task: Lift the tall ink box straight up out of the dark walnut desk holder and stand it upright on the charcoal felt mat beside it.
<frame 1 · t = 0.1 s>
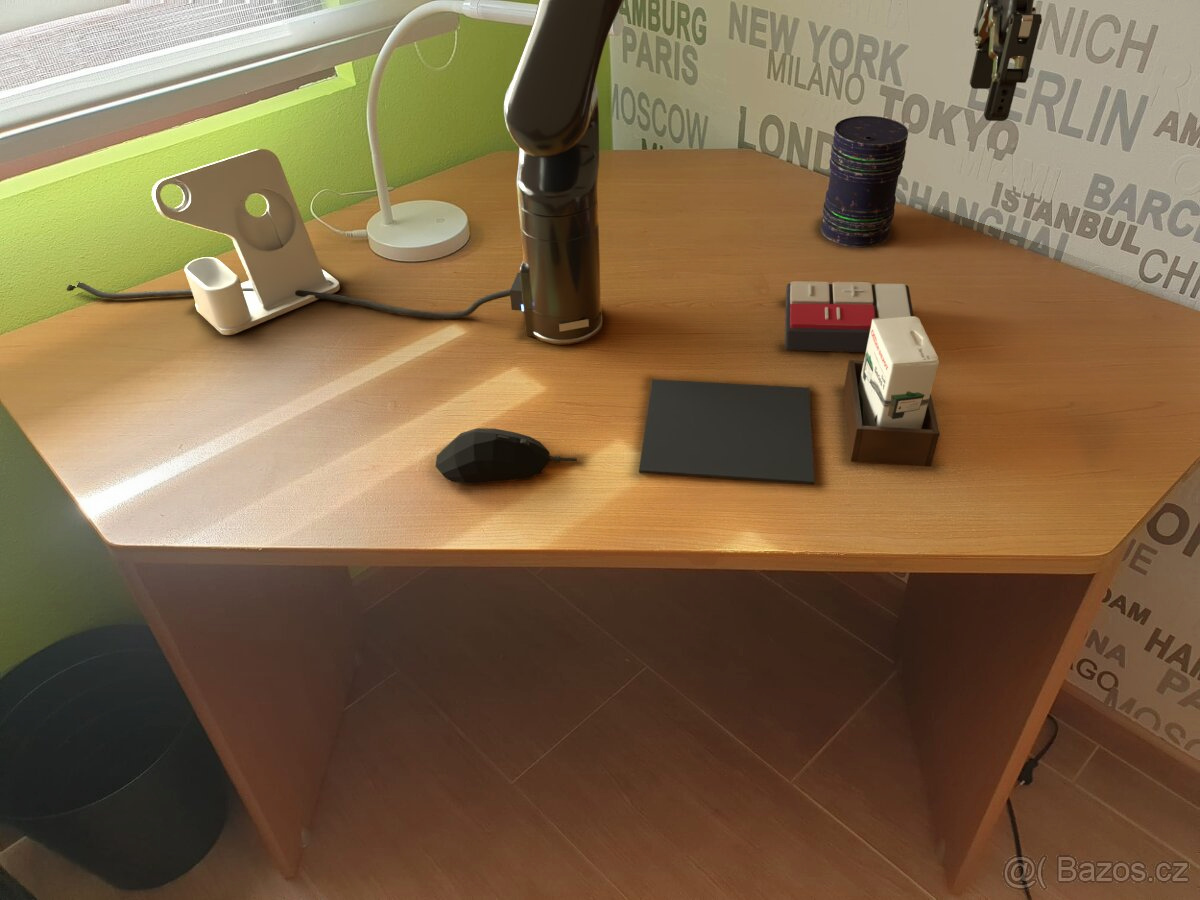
hand: (987, 103, 97), 29 cm above the table, tool pointing down, fingers open, 8 cm apart
gaming mouse: (507, 465, 101), on the table
mat: (727, 429, 105), on the table
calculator: (845, 330, 119), on the table
ink box: (884, 428, 104), resting in holder
phone holder: (267, 299, 128), on the table
navy blue cylinder: (854, 232, 138), on the table
holder: (885, 427, 104), on the table
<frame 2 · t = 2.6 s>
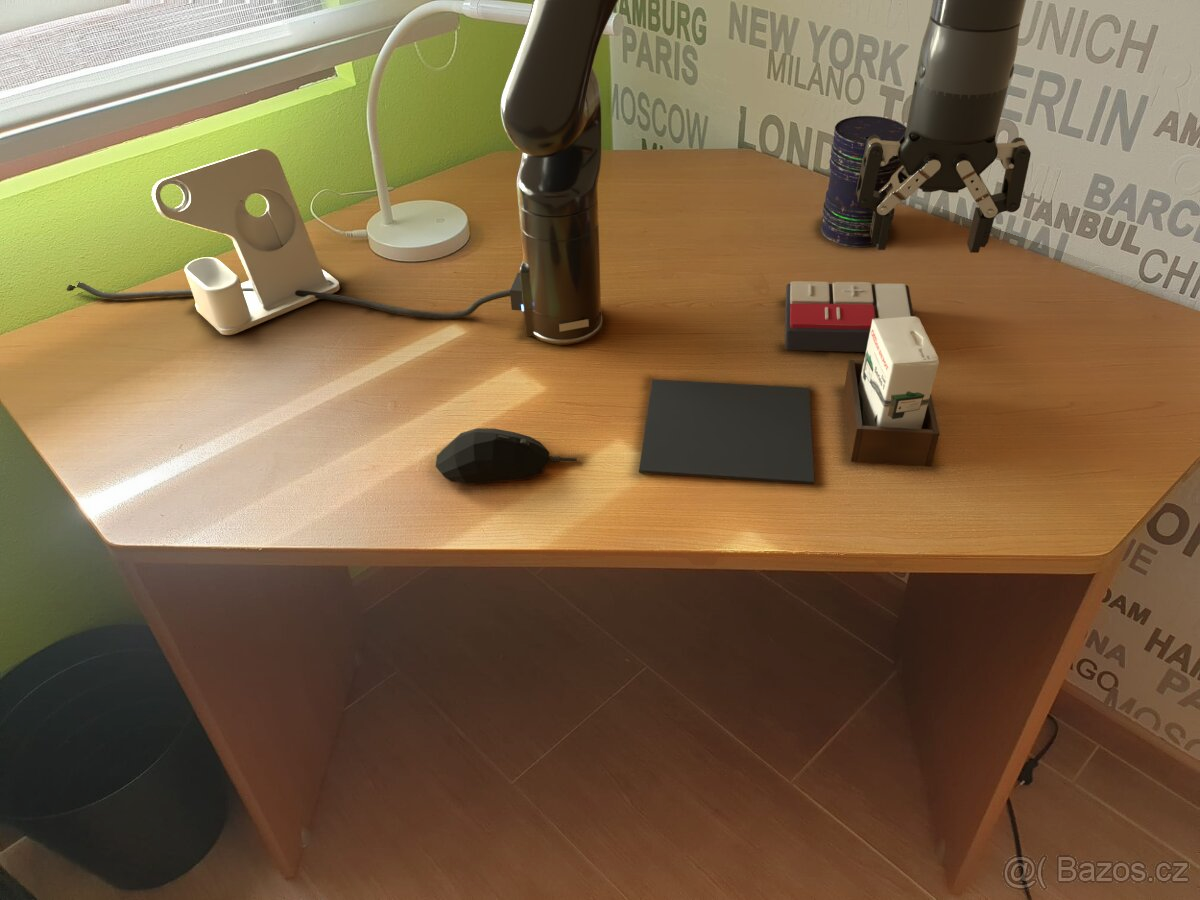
hand: (925, 247, 91), 21 cm above the table, tool pointing down, fingers open, 8 cm apart
nothing on the table moved.
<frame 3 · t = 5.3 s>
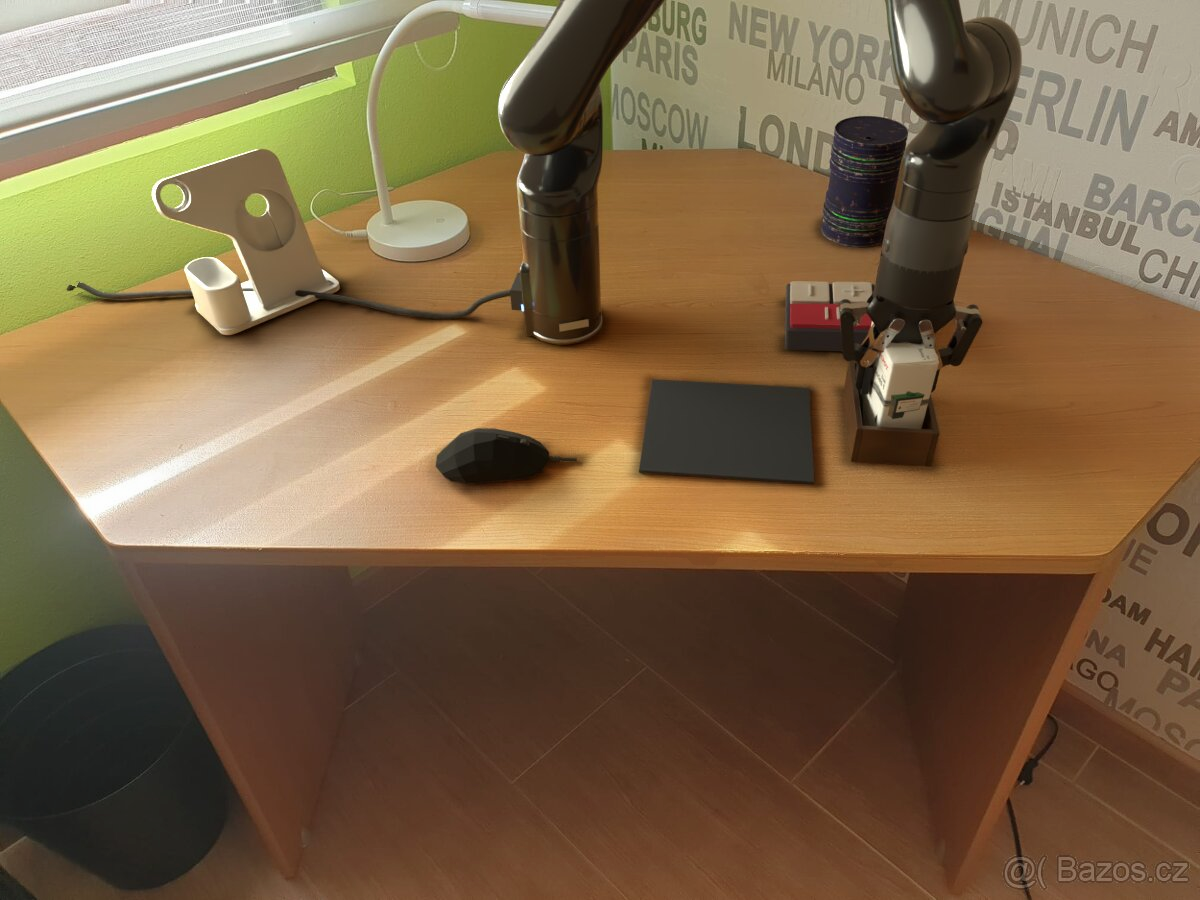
hand: (892, 390, 101), 5 cm above the table, tool pointing down, fingers closed on ink box, 5 cm apart
ink box: (884, 428, 104), resting in holder, touching gripper
everything else where it was.
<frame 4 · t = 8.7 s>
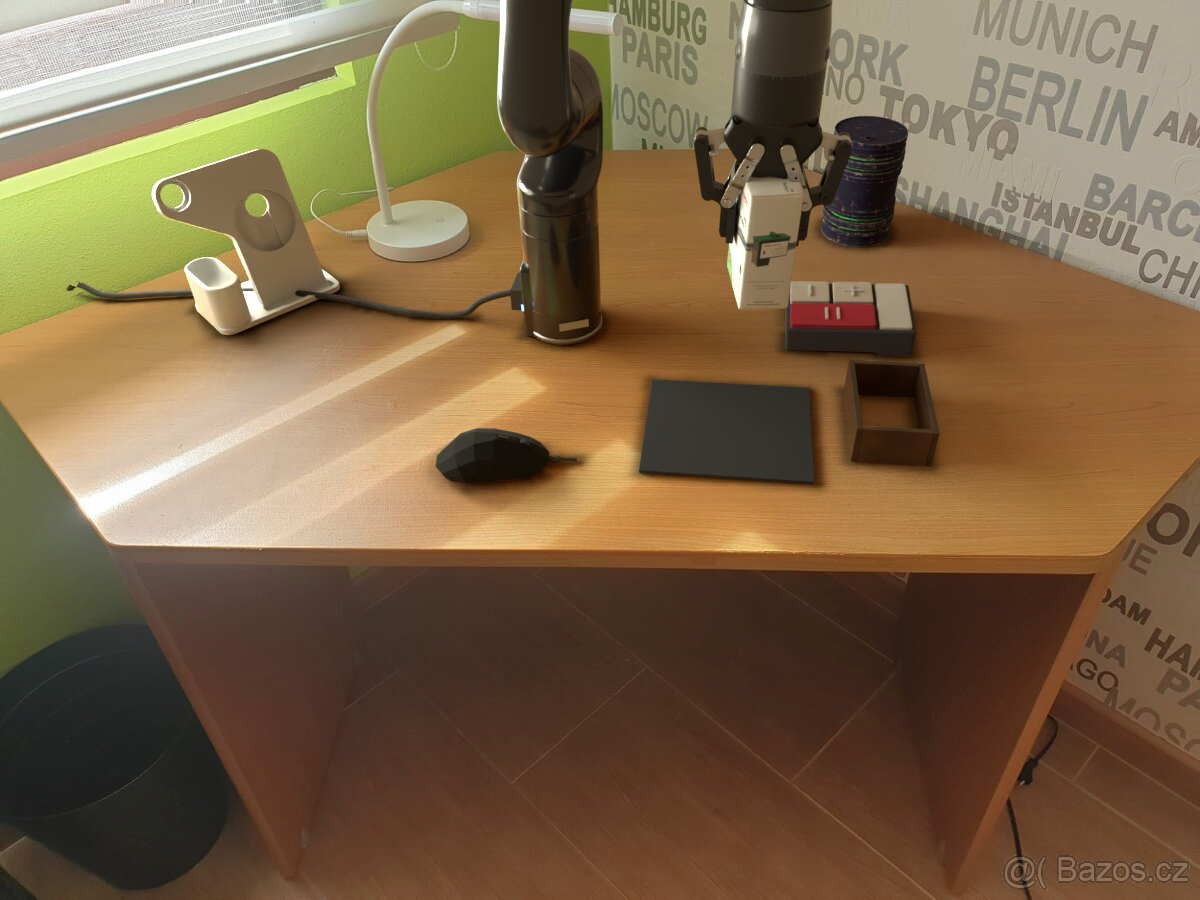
hand: (761, 240, 90), 23 cm above the table, tool pointing down, fingers closed on ink box, 5 cm apart
ink box: (756, 288, 93), point 18 cm above the table, touching gripper
everything else where it was.
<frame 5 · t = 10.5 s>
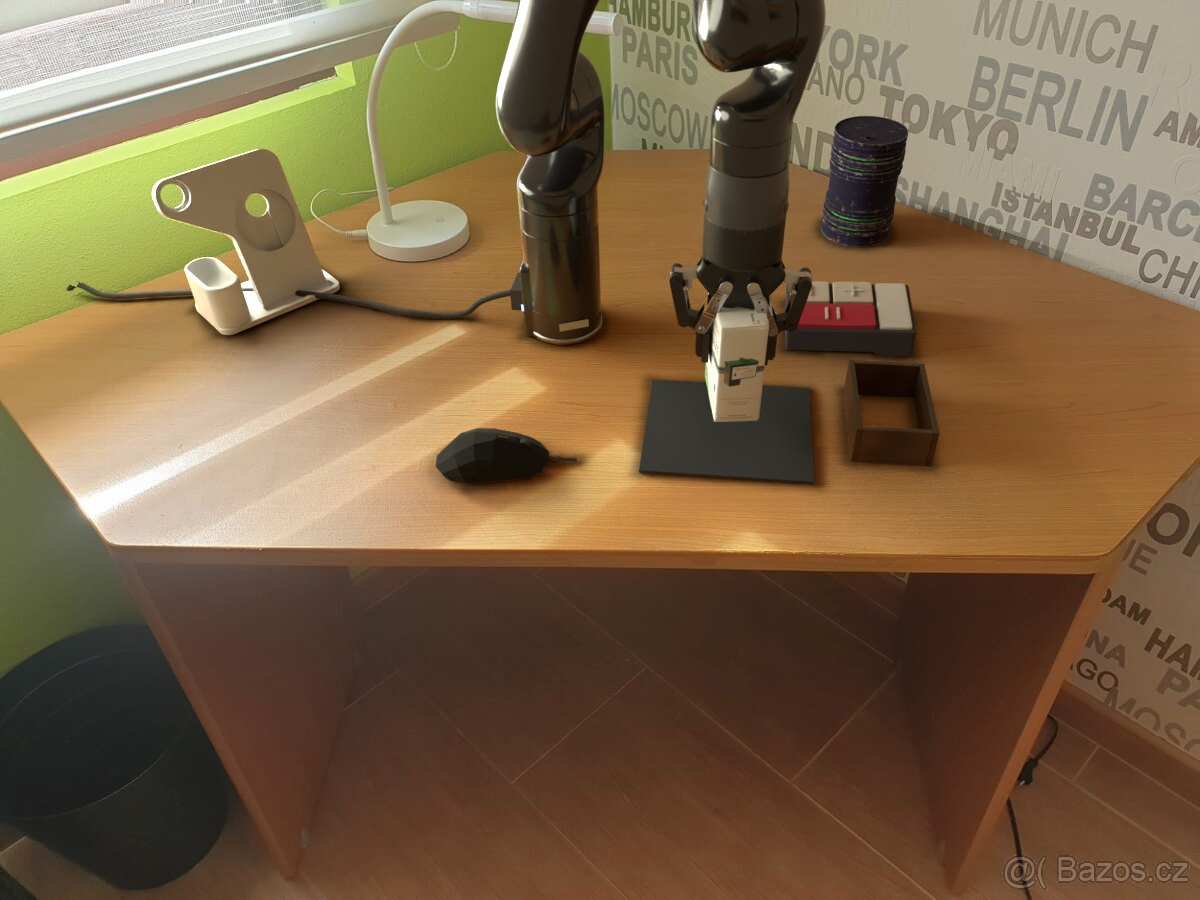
hand: (734, 358, 98), 9 cm above the table, tool pointing down, fingers closed on ink box, 5 cm apart
ink box: (731, 398, 102), point 4 cm above the table, touching gripper
everything else where it was.
when the fingers open (5 cm above the table, at t = 12.1 s): ink box stays where it is, resting on mat.
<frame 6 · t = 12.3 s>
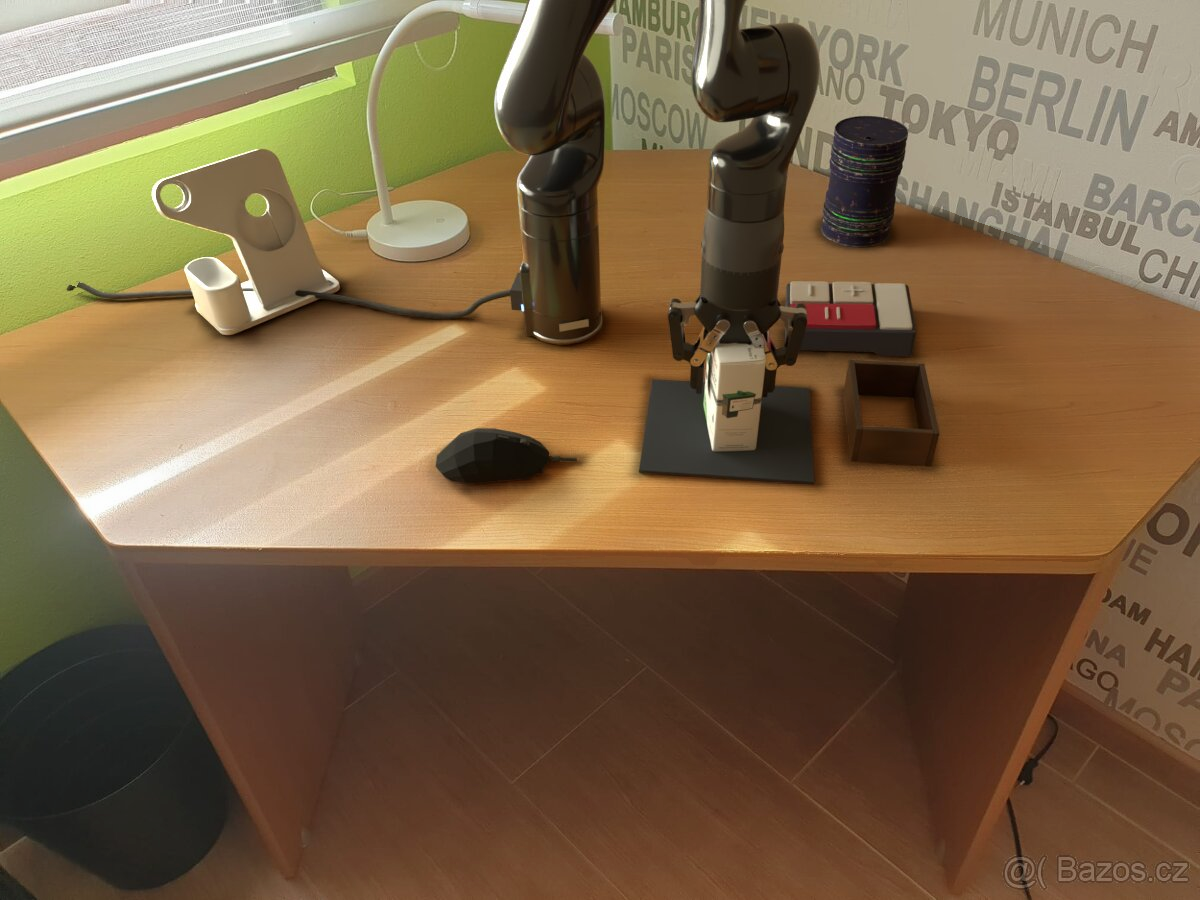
hand: (731, 390, 101), 5 cm above the table, tool pointing down, fingers open, 6 cm apart
ink box: (729, 428, 104), resting on mat
everything else where it was.
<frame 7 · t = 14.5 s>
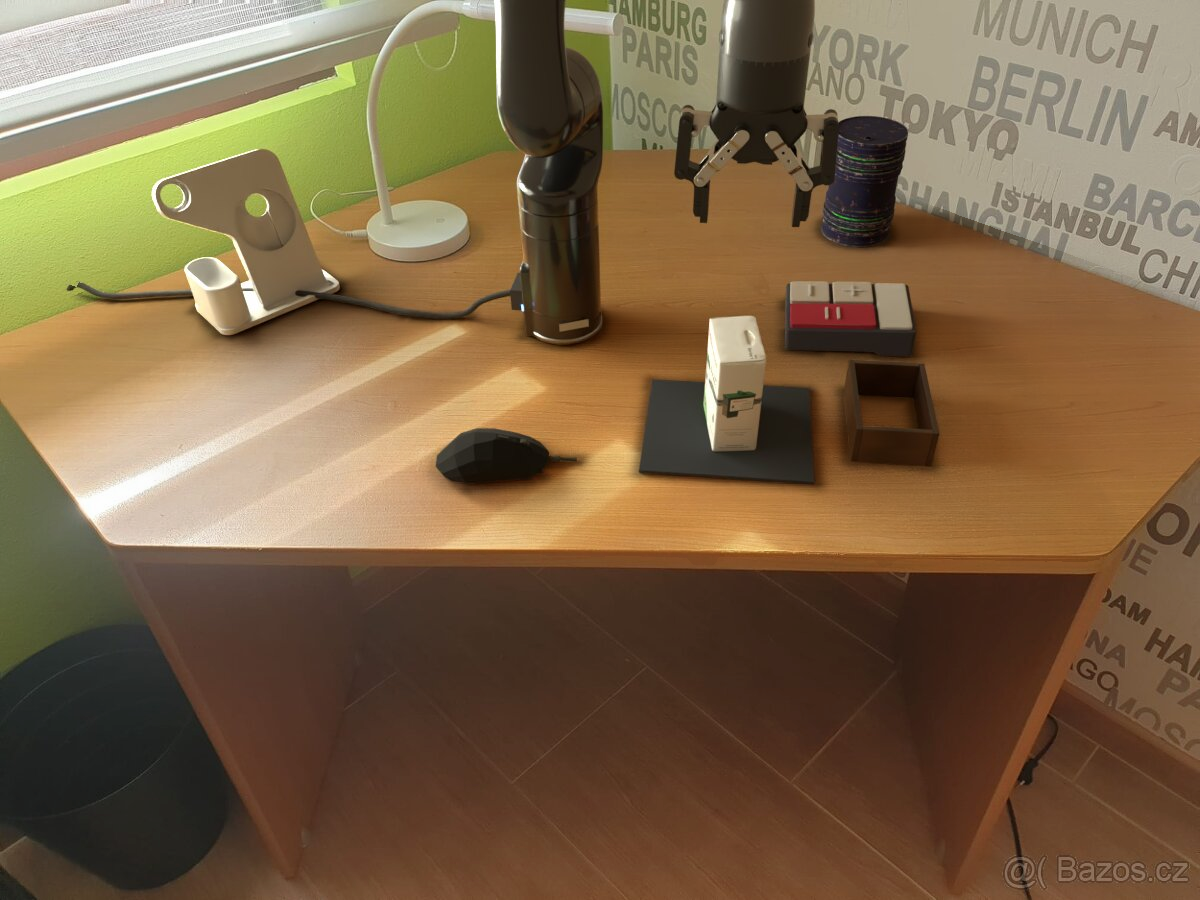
hand: (749, 221, 90), 24 cm above the table, tool pointing down, fingers open, 8 cm apart
nothing on the table moved.
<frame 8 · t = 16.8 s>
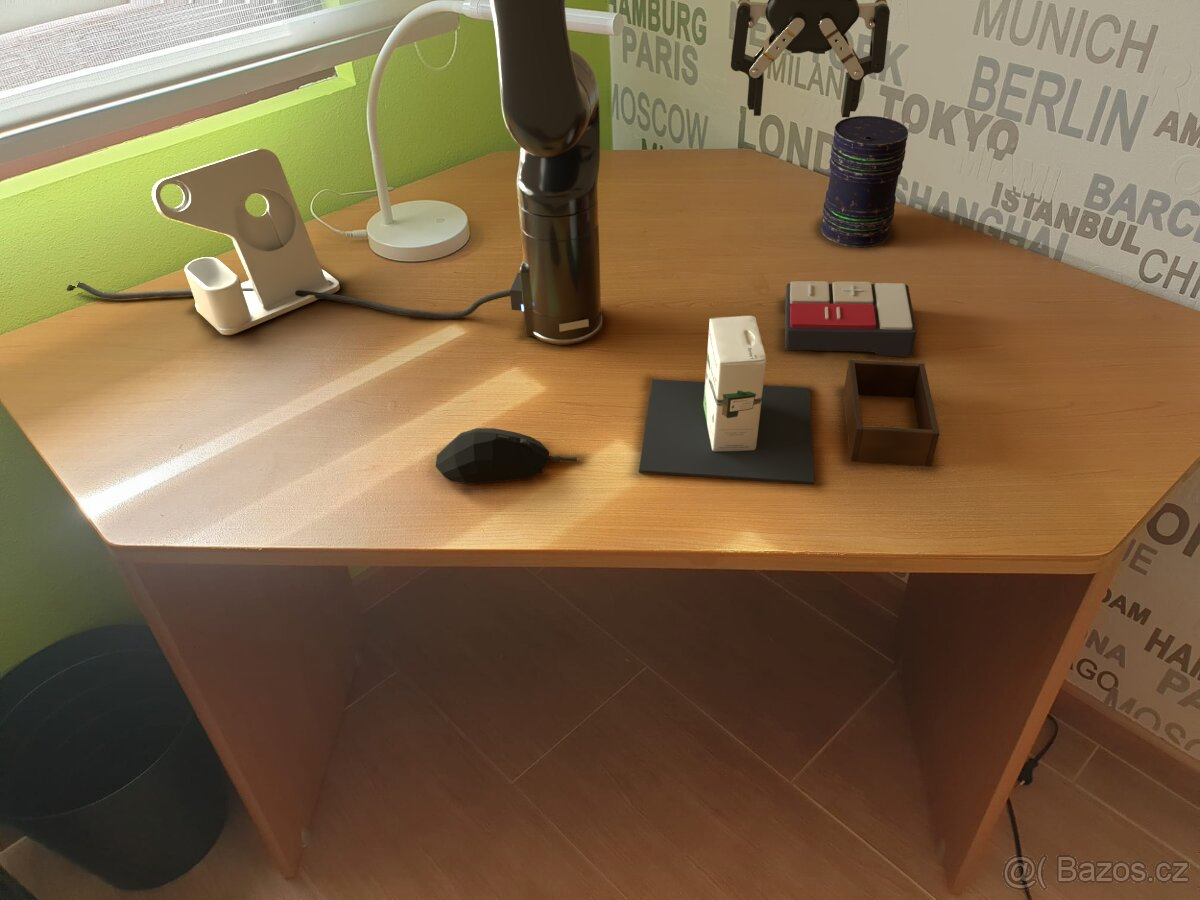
hand: (800, 113, 94), 30 cm above the table, tool pointing down, fingers open, 8 cm apart
nothing on the table moved.
at the end: ink box inside the target area on the mat (0.2 cm from its centre), point 0.2 cm above the mat's base; ink box tilted 0°; the gripper is holding nothing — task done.
